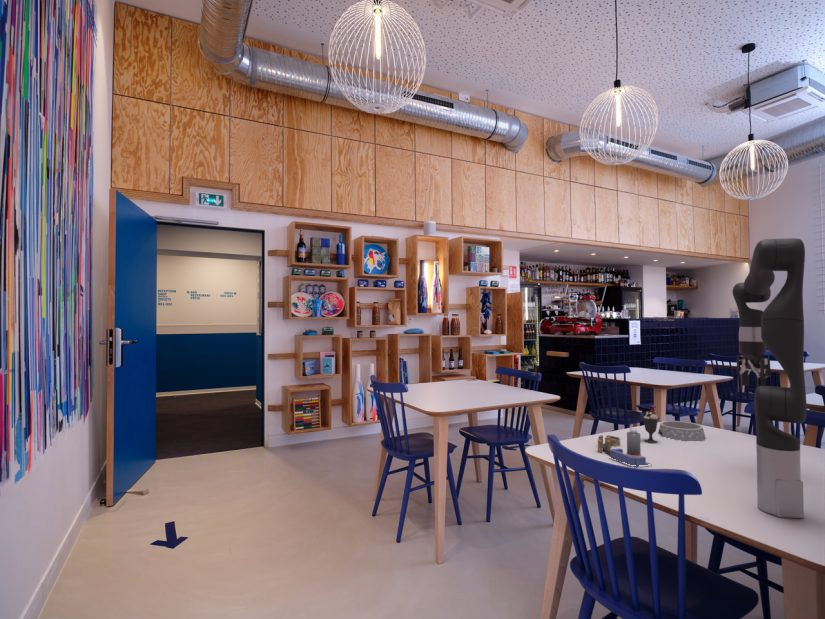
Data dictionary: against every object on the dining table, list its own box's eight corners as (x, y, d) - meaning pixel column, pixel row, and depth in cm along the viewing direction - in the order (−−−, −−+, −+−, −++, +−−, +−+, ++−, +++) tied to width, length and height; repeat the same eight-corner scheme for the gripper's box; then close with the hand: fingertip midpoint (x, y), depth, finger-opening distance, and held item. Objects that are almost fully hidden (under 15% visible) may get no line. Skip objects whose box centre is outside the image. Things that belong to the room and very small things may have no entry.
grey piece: (643, 462, 161) (643, 431, 161) (629, 461, 162) (628, 430, 162) (638, 457, 166) (638, 427, 166) (624, 457, 166) (623, 427, 167)
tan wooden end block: (609, 442, 188) (609, 434, 188) (620, 445, 185) (620, 436, 185) (605, 444, 186) (604, 436, 186) (615, 446, 182) (615, 438, 182)
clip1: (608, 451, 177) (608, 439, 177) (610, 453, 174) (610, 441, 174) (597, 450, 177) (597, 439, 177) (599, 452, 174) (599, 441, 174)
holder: (625, 456, 170) (625, 447, 170) (651, 465, 159) (651, 456, 159) (609, 458, 167) (609, 449, 167) (634, 468, 156) (634, 458, 156)
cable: (611, 454, 170) (611, 451, 170) (601, 453, 172) (601, 450, 172) (613, 444, 185) (613, 441, 185) (603, 443, 186) (603, 440, 186)
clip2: (611, 447, 181) (610, 436, 181) (608, 449, 179) (608, 438, 179) (600, 446, 184) (600, 435, 184) (598, 447, 181) (598, 436, 181)
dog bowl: (667, 441, 192) (666, 428, 192) (653, 430, 210) (653, 419, 210) (712, 443, 188) (711, 430, 188) (694, 432, 206) (694, 420, 206)
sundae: (662, 444, 186) (661, 407, 186) (644, 443, 187) (644, 407, 187) (657, 440, 192) (656, 404, 192) (640, 439, 194) (639, 404, 194)
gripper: (778, 341, 148) (779, 390, 148) (750, 339, 162) (751, 384, 162) (753, 341, 149) (754, 390, 148) (728, 339, 163) (729, 384, 163)
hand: (753, 387), depth 155 cm, fingers open, 8 cm apart
